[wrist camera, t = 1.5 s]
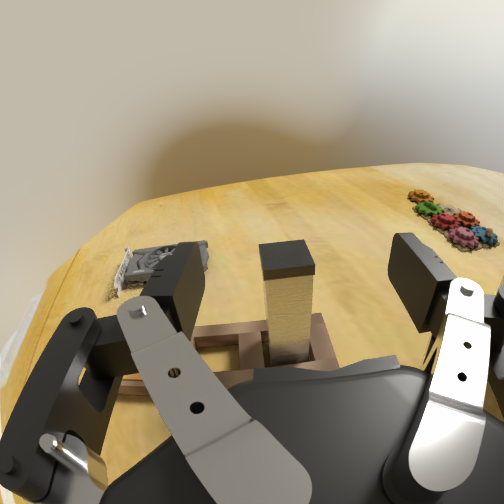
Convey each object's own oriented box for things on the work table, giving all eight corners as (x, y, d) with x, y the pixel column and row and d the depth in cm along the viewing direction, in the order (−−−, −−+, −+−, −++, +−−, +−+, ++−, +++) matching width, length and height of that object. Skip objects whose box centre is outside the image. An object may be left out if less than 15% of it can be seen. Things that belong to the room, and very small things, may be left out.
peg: (301, 340, 33) (304, 239, 26) (308, 367, 30) (315, 264, 23) (267, 345, 33) (258, 244, 26) (271, 372, 30) (262, 270, 23)
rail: (319, 323, 35) (320, 311, 34) (337, 380, 28) (340, 368, 27) (127, 339, 35) (121, 328, 34) (111, 393, 28) (103, 383, 26)
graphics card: (107, 284, 42) (124, 246, 52) (114, 301, 44) (129, 262, 54) (206, 272, 43) (207, 234, 53) (210, 291, 45) (210, 251, 55)
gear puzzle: (393, 197, 72) (394, 183, 70) (436, 195, 72) (437, 182, 69) (460, 255, 45) (465, 237, 43) (503, 247, 45) (508, 231, 43)
